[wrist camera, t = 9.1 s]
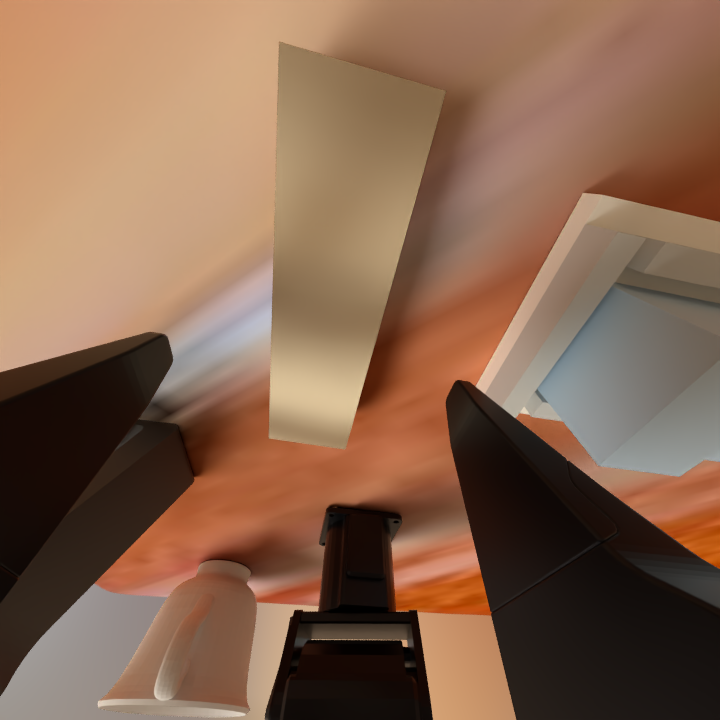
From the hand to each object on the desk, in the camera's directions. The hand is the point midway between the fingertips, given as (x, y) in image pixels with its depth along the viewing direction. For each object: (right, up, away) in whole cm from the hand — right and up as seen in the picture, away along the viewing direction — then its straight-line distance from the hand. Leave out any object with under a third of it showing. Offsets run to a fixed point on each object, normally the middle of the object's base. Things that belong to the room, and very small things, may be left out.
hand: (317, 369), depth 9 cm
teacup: (-14, -22, +22) cm, 34 cm away
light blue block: (+16, +1, +4) cm, 17 cm away
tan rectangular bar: (0, +3, +4) cm, 5 cm away
